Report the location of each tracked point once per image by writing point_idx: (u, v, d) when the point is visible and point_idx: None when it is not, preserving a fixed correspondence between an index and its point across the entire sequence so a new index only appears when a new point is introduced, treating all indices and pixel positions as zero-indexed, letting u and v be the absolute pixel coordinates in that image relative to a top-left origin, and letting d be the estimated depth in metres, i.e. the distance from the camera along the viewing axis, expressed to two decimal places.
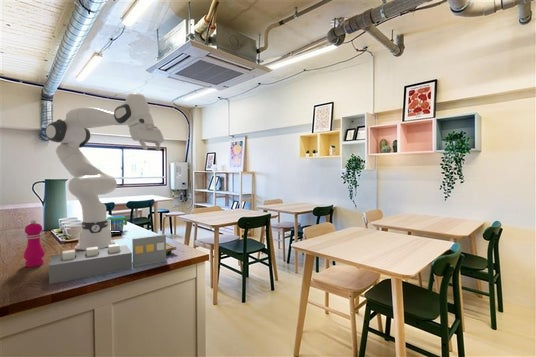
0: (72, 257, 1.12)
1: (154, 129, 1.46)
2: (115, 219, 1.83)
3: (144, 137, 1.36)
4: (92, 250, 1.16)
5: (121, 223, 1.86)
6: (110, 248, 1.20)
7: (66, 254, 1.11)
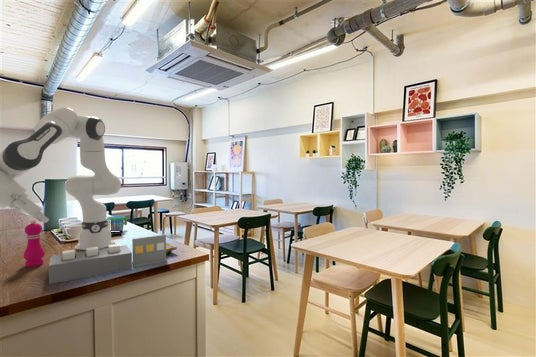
0: (72, 257, 1.12)
1: (15, 204, 0.98)
2: (115, 219, 1.83)
3: (26, 214, 1.07)
4: (92, 250, 1.16)
5: (121, 223, 1.86)
6: (110, 248, 1.20)
7: (66, 254, 1.11)
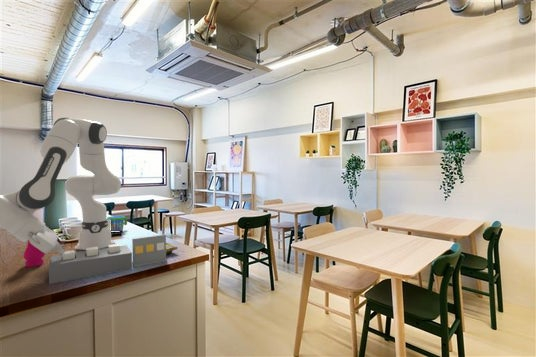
0: (72, 258, 1.12)
1: None
2: (115, 219, 1.83)
3: None
4: (92, 250, 1.16)
5: (121, 223, 1.86)
6: (110, 248, 1.20)
7: (66, 255, 1.11)
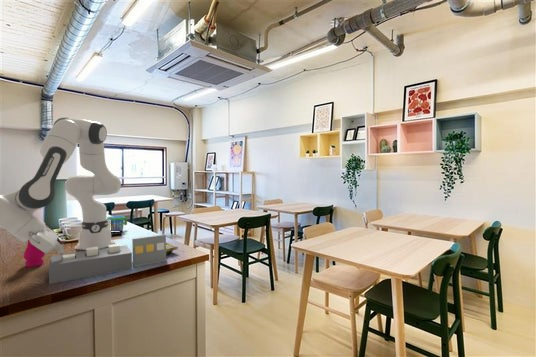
0: None
1: None
2: (115, 219, 1.83)
3: None
4: (92, 250, 1.16)
5: (121, 223, 1.86)
6: (110, 248, 1.20)
7: (66, 258, 1.11)
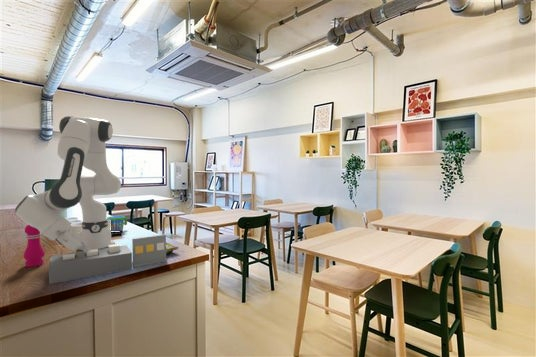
0: None
1: None
2: (115, 219, 1.83)
3: None
4: (92, 252, 1.16)
5: (121, 223, 1.86)
6: (110, 248, 1.20)
7: (66, 258, 1.11)
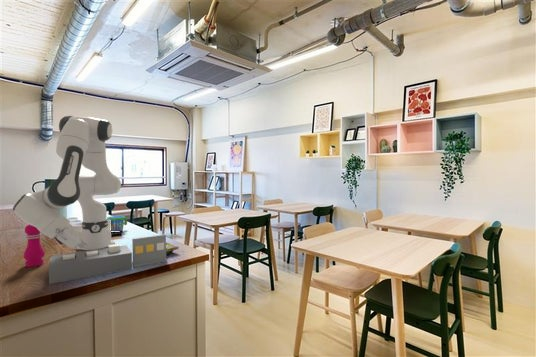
0: None
1: None
2: (115, 219, 1.83)
3: None
4: (92, 254, 1.16)
5: (121, 223, 1.86)
6: (110, 248, 1.20)
7: (66, 258, 1.11)
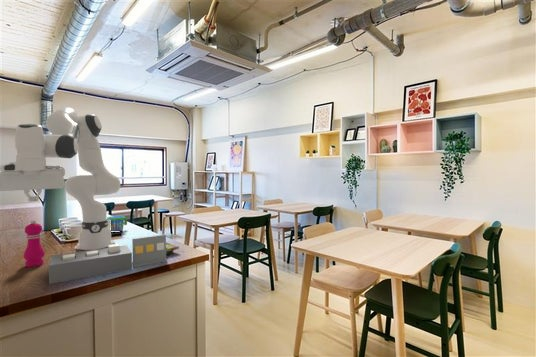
0: None
1: (44, 173, 1.10)
2: (115, 219, 1.83)
3: (12, 188, 1.06)
4: (92, 254, 1.16)
5: (121, 223, 1.86)
6: (110, 248, 1.20)
7: (66, 258, 1.11)
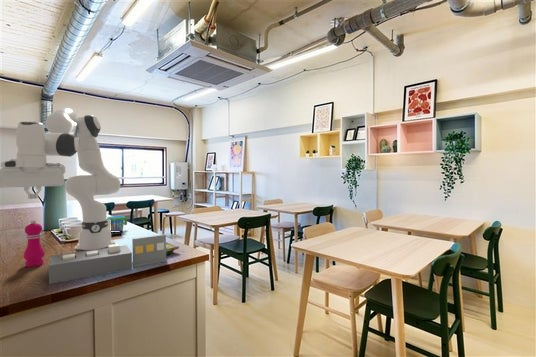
0: None
1: (45, 170, 1.11)
2: (115, 219, 1.83)
3: (12, 185, 1.05)
4: (92, 254, 1.16)
5: (121, 223, 1.86)
6: (110, 248, 1.20)
7: (66, 258, 1.11)
